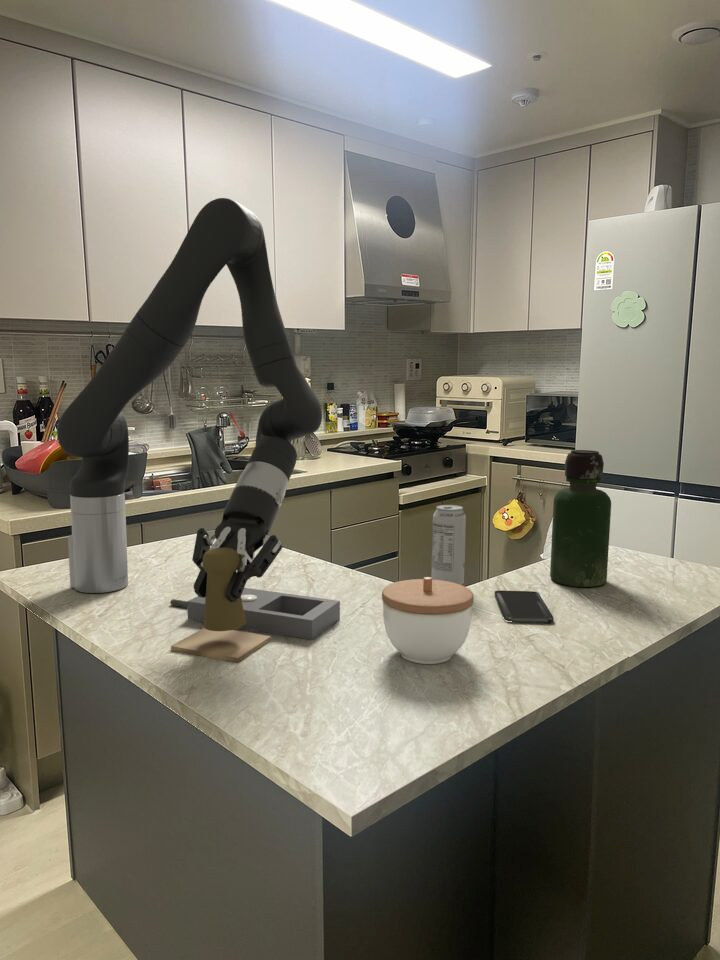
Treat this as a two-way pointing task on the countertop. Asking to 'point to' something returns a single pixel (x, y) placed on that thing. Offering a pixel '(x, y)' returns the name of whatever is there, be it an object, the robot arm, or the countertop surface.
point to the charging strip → (277, 612)
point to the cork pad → (221, 644)
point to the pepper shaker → (221, 591)
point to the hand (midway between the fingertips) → (214, 596)
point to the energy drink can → (448, 544)
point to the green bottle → (581, 524)
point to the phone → (523, 607)
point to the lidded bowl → (427, 618)
